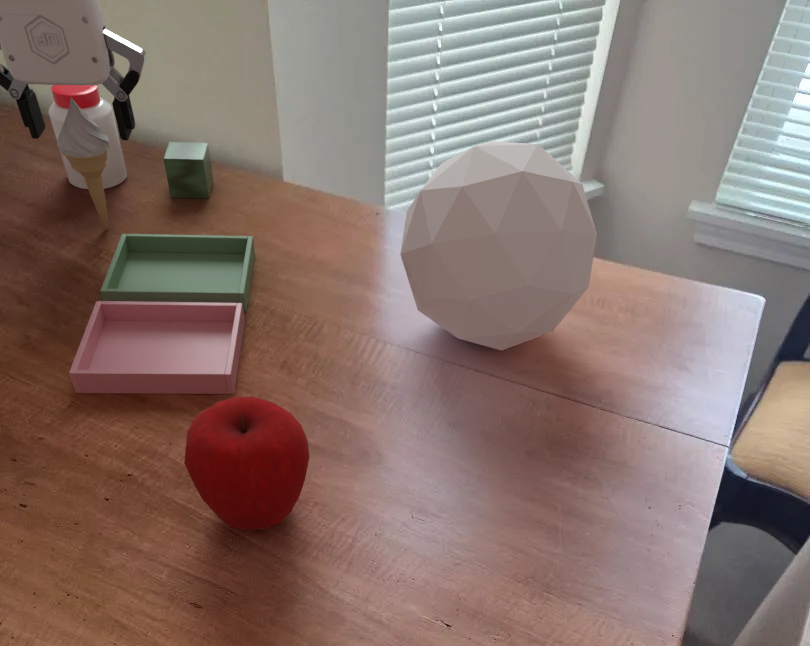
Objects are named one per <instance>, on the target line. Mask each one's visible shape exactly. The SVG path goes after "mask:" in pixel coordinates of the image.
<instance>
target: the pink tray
mask: <svg viewBox="0 0 810 646" xmlns="http://www.w3.org/2000/svg"><path fill="white" fill-rule="evenodd" d="M245 323H246V321H245V312H243V305H242V303H208V302H134V301H103V300H96V301H95V304H94V306H93V309H92V311H91V314H90V316H89V319H88V321H87V324H86V327H85V330H84V333H83V335H82V337H81V340H80V343H79V345H78V348H77V350H76V353H75V356H74V359H73V361H72V364H71V367H70V370H69V372H68V375H69V377H70V380H71V384H72V386H73V388H74V389H73V390H74V392H75V394H143V395H144V394H145V395H146V394H149V395H150V394H151V395H152V394H153V395H154V394H156V395H157V394H158V395H159V394H161V395H162V394H165V395H171V394H172V395H174V394H175V395H183V394H185V395H234V394H235V389H236V382H237V376H238V370H239V364H240V357H241V351H242V345H243V337H244V332H245V331H244V330H245Z"/></svg>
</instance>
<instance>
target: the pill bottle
mask: <svg viewBox="0 0 810 646" xmlns="http://www.w3.org/2000/svg"><path fill="white" fill-rule="evenodd" d="M50 90H51V93H52V97H53V102H52V103H51V105H50V106H49V108H48V117H49V120H50V124H51V127H52V131H53V135H54V137H55V141H56V142H57V141H58V137H59V134H60V132H61V130H62V126H63V124H64V121H65V118H66V115H67V113H68V109H69V105H70V100H71V97H72V99H73V100H74V101H75V102H76V104H77V105H78V106H79V108H80V109H81V110H82V111H83V112H84V113H85V114H86V115H87V116H88V118H89V119H91V120H92V121H93V122H94V123H95V124H96V125H97V126H98V127H99V128H100V129H101V130H102V131H101V132H100V133H101V134H104V135H106V136H108V142H109V150H108V151H107V162H108V163H107V165H106V166H105V168H104V169H103V172H102V174H101V176H102V182H103V187H104V190H105V189H109V188H110V189H111V188H113V187H116V186H119V185H120V184H122V183H123V182H124V181H126V179H127V178H128V170H127V165H126V161H125V157H124V153H123V149H122V144H121V138H120V134H119V130H118V126H117V122H116V118H115V114H114V110H113V106H112V104H111V103H110V102H108V101H107V100H106V99H105V98H103V97H101V94H100V91H99V85H51V87H50ZM57 147H58V146H57ZM58 151H59V154H60V159H61V162H62V165H63V168H64V171H65V174H66V178H67V180H68V183H69V184H70V185H72V186H73V187H76V188H79V189H82V190H88V187H87V184H86V182H85V179H84V177H83V176H82V175H81V174H80V173H79V172H78V171H76V170H74V169H73V168H72V167H71V164H70V162H69V160H68V159H67V158H66V156H64V155H63V154H62V152H61V151H60V149H59V147H58Z"/></svg>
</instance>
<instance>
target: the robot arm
mask: <svg viewBox="0 0 810 646" xmlns="http://www.w3.org/2000/svg"><path fill="white" fill-rule="evenodd" d="M1 50H2V54H3V57H4V61H5V64H6V66H4V65H3V64H2V63H0V86H1V88H3V89H4V90H5V91H7V93H8V95H9V97H10V98H12V99H13V100H15V101H16V105H17V108H18V111H19V114H20V117H21V120H22V123H23V126H24V127H25V128H28V130H29V134H30V136H31V139H33V140H37V139H38V140H39V138H40V137H41V136H42V135H43V132H44V131H45V130H46V123H45V120H44V116H43V113H42V110H41V107H40V104H39V101H38V98H37V94H36V92H35V91H34V89H33V88H30V86H29V85H43V86H45V85H46V86H53V85H97V86H99V85H102V86H103V87H104V88H105V89H106V90H107V91H108V92H109V93H110V94H111V95H112V96H113V97H114V98H113V100H112V102H111V103H112V104H111V106H112V109H113V114H114V118H115V122H116V127H117V131H118V135H119V139H120V140H122V141H129V139H130V137H131V134H132V132H133V130H135V128H136V120H135V115H134V110H133V105H132V102H131V98H130V95H131V94H132V92H133V90H134V89H135V88H136V87H137V85H138V83H139V82H140V79H141V77H142V73H143V70H144V67H145V62H146V60H147V59H146V58H147V52H146V50H145V49H143V48H142V47H140V46H138V45H137V44H135V43H133V42H131V41H129V40H127V39H125V38H123V37H121V36H120V35H118V34H116V33H114V32H112V31H111V30H108V27H107V23H106V20H105V18H104V14H103V11H102V7H101V5H100V2H99V0H0V51H1ZM114 53H115V54H117V55H119V56H121V57H123V58H124V59H126V60H128V63H129V66H128V71H127V73H125V76H123V74H121V72H119V70H118V69H117V68H116V67H115V63H116V61H115V55H114Z"/></svg>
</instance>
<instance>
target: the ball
mask: <svg viewBox="0 0 810 646" xmlns="http://www.w3.org/2000/svg"><path fill="white" fill-rule="evenodd" d="M405 214H406V215H405V221H404V228H403V235H402V241H401V249H400V255H399V256H400V258H401V262H402V264H403V268H404V270H405V274H406V278H407V280H408V284H409V287H410V291H411V293H412V296H413V299H414V302H415V303H414V304H415V305H416V309H417V311H418V312H420V313H421V314H422V315H424V316H425V317H427V318H428V319H429V320H431V321H432V322H434V323H435V324H437V325H438V326H439V327H441V328H443V329H444V330H445V331H446V332H448V333H450V334H451V335H452V336H454V337H456V339H458V340H463V341H465V342H470V343H473V344H476V345H481V346H484V347H487V348H491V349H495V350H499V351H501V352H502V351H504V350H507V349H510V348H513V347H516V346H517V345H521V344H524V343H526V342H529V341H533V340H534V339H536V338H539V337H542V336H544V335H547V334H550V333H553V332H554V331H555V330H556V328H557V327H558V326H559V324H561V322H562V321H563V319H564V318H565V317H566V316H567V315H568V314H569V312H570V311H571V310H572V308H574V307H575V305H576V304H577V302H578V301H579V300H581V298H582V296H583V295H584V294H585V293H586V291H587V290H588V289H589V287H590V282H591V275H592V268H593V263H594V257H595V250H596V244H597V238H598V233H597V229H596V227H595V223H594V220H593V216H592V212H591V210H590V206H589V202H588V199H587V196H586V192H585V187H584V184H583V182H581V181H580V180H579V179H578V178H577V177H576V176H574V174H572V173H571V172H570V171H569V170H568V169H567V168H565V167H564V166H563V165H562V164H561V162H559V161H558V160H557V159H555V157H554V156H552V155H551V154H550V153H549V152H547V151H546V150H545V149H544V148H543V147H542V146H541V145H540V144H538V143H528V142H526V143H525V142H524V143H523V142H509V141H496V140H495V141H489V142H485V143H481V144H477V145H474V146H472V147H470V148H468V149H466V150H465V151H462V152H460V153H458V154H457V155H454V156H453V157H451V158H449V159H447V160H445V161H443V162H441V163H440V164H439V165H438V166H437V168H436V169H435V170H434V172H433V173H432V174H431V176H430V177H429V178H428V180H427V181H426V182H425V184H424V185H423V186H422V188H420V190H419V192H418V194H416V196H415V198H414V199H413V201H412V203H411V204H410V206H409V207H408V208H407V210H406V213H405Z"/></svg>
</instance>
